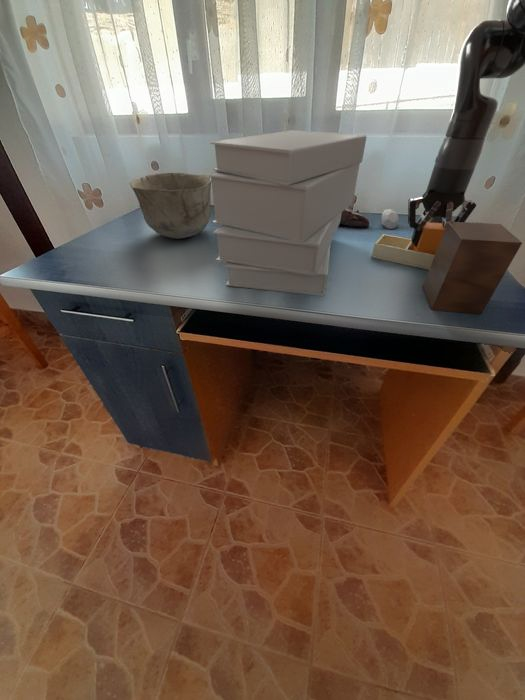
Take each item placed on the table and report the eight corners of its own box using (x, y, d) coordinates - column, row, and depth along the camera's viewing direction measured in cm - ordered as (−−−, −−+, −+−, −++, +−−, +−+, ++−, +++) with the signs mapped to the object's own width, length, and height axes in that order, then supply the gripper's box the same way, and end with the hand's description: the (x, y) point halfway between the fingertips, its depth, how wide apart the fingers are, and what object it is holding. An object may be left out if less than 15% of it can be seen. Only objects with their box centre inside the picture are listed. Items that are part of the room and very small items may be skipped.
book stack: (345, 238, 87) (364, 129, 70) (345, 301, 61) (375, 152, 44) (245, 231, 91) (240, 128, 74) (206, 287, 66) (185, 149, 49)
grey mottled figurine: (421, 219, 99) (429, 194, 94) (440, 220, 97) (450, 196, 92) (422, 231, 90) (430, 204, 86) (442, 233, 89) (453, 206, 84)
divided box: (468, 278, 68) (475, 263, 65) (371, 257, 77) (374, 243, 74) (471, 265, 73) (478, 251, 70) (379, 247, 82) (383, 233, 79)
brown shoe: (324, 229, 100) (346, 206, 99) (351, 245, 94) (375, 221, 94) (321, 215, 94) (344, 191, 94) (350, 232, 88) (375, 206, 88)
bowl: (167, 220, 100) (157, 169, 90) (228, 226, 96) (223, 173, 86) (128, 245, 85) (110, 186, 75) (198, 253, 80) (189, 192, 70)
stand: (466, 291, 63) (500, 224, 54) (481, 314, 57) (522, 242, 48) (422, 287, 65) (447, 221, 56) (431, 310, 58) (462, 239, 49)
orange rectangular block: (431, 247, 74) (440, 223, 70) (435, 255, 71) (445, 229, 67) (412, 246, 75) (420, 222, 71) (416, 253, 72) (424, 228, 68)
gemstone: (386, 211, 96) (396, 204, 91) (392, 229, 97) (404, 223, 92) (371, 217, 95) (381, 210, 90) (378, 236, 95) (388, 230, 90)
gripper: (421, 166, 59) (397, 250, 70) (500, 168, 57) (462, 254, 68) (414, 160, 65) (393, 238, 76) (486, 161, 62) (453, 242, 74)
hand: (426, 245), depth 72 cm, fingers closed on orange rectangular block, 4 cm apart
